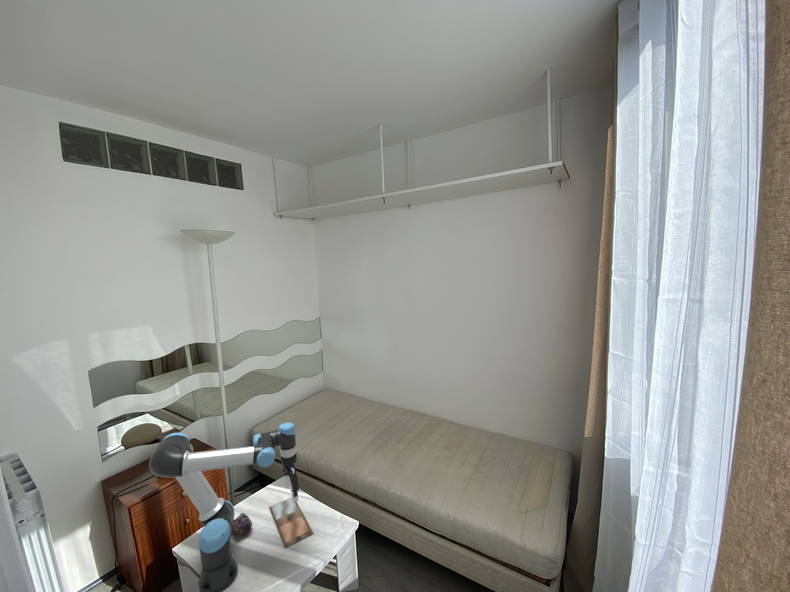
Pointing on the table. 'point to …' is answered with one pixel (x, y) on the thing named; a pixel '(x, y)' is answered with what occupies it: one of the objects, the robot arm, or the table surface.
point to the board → (290, 522)
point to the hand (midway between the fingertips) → (291, 494)
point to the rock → (241, 524)
